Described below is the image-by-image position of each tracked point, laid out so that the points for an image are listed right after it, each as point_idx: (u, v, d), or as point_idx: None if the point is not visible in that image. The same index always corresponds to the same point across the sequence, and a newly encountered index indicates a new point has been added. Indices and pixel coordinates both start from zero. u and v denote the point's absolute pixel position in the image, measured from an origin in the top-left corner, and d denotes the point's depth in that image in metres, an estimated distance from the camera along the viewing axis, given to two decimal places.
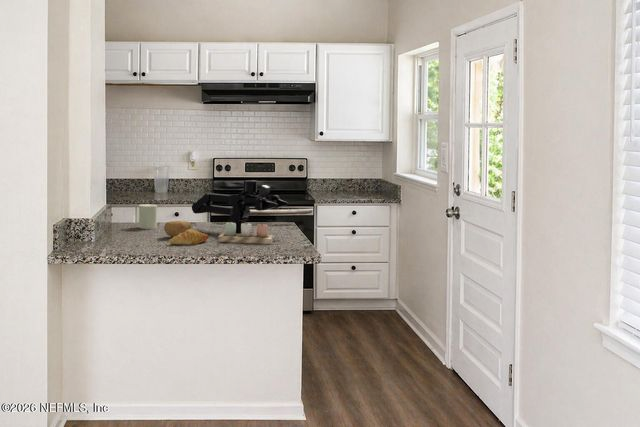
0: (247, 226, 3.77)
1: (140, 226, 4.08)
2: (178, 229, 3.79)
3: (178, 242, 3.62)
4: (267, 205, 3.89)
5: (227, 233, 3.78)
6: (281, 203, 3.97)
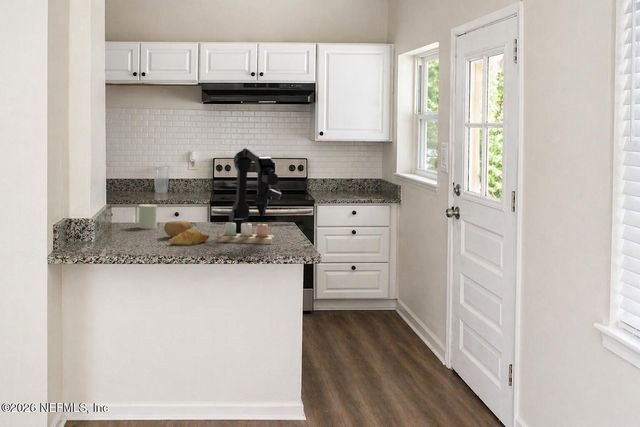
0: (247, 226, 3.77)
1: (140, 226, 4.08)
2: (178, 229, 3.79)
3: (178, 242, 3.62)
4: (260, 207, 3.74)
5: (227, 233, 3.78)
6: None
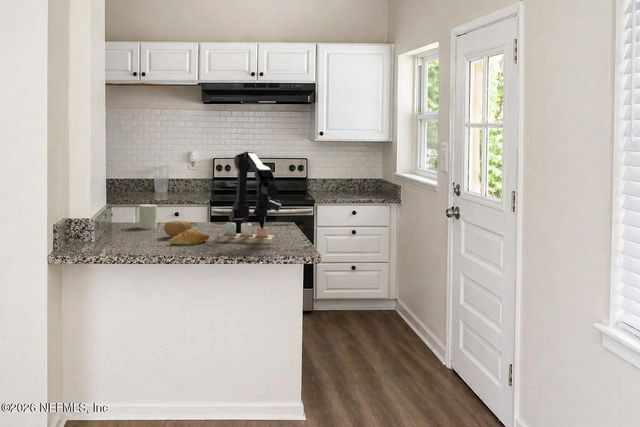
0: (247, 226, 3.77)
1: (140, 226, 4.08)
2: (178, 229, 3.79)
3: (178, 242, 3.62)
4: (260, 217, 3.78)
5: (227, 233, 3.78)
6: None
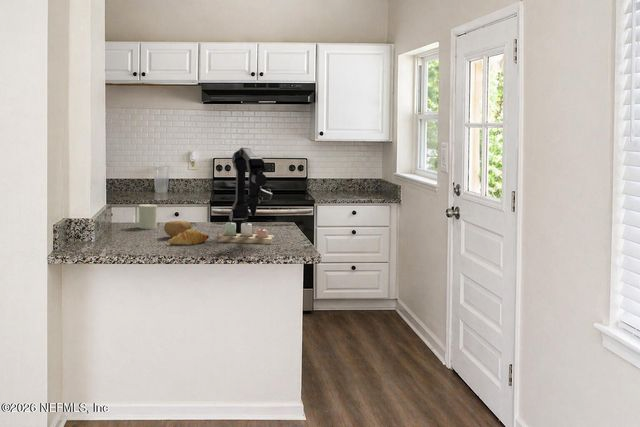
0: (247, 226, 3.77)
1: (140, 226, 4.08)
2: (178, 229, 3.79)
3: (177, 242, 3.62)
4: (252, 206, 3.77)
5: (227, 233, 3.78)
6: None
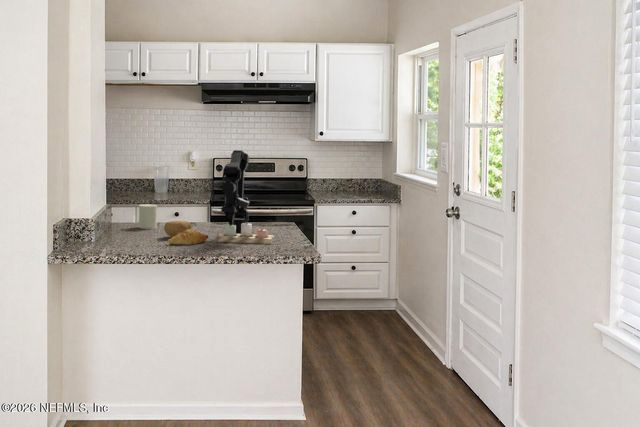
0: (247, 226, 3.77)
1: (140, 226, 4.08)
2: (178, 229, 3.79)
3: (177, 242, 3.62)
4: (229, 215, 3.78)
5: (227, 235, 3.78)
6: None
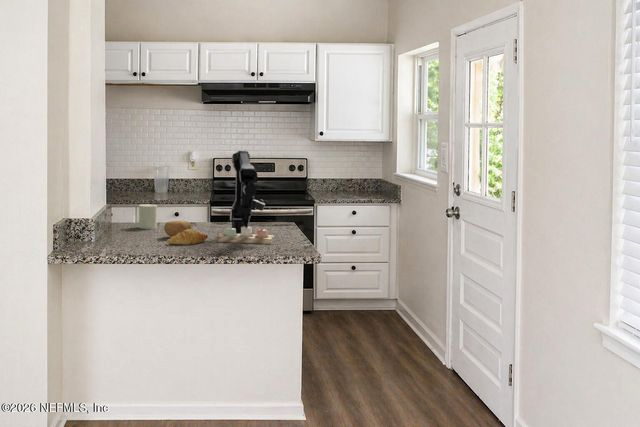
0: (247, 229, 3.78)
1: (140, 226, 4.08)
2: (178, 229, 3.79)
3: (176, 242, 3.62)
4: (244, 217, 3.78)
5: None
6: None
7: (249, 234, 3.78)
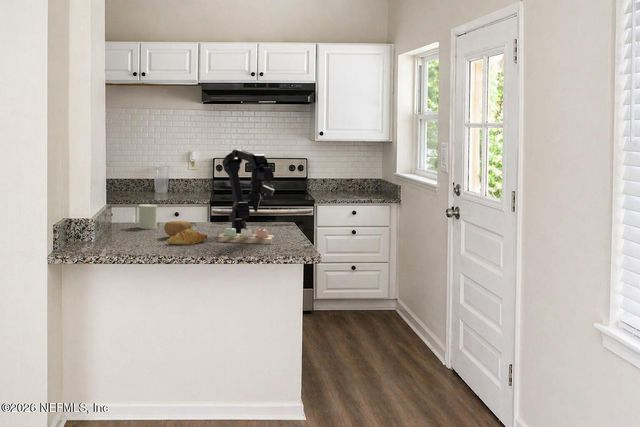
0: (247, 231, 3.78)
1: (140, 226, 4.08)
2: (178, 229, 3.79)
3: (176, 242, 3.62)
4: (254, 202, 3.89)
5: None
6: None
7: (249, 236, 3.79)
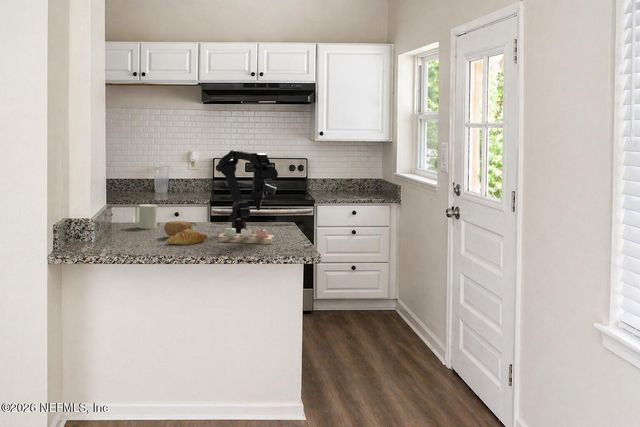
0: (247, 231, 3.78)
1: (140, 226, 4.08)
2: (178, 229, 3.79)
3: (175, 242, 3.63)
4: (257, 200, 3.92)
5: None
6: None
7: (249, 236, 3.79)
